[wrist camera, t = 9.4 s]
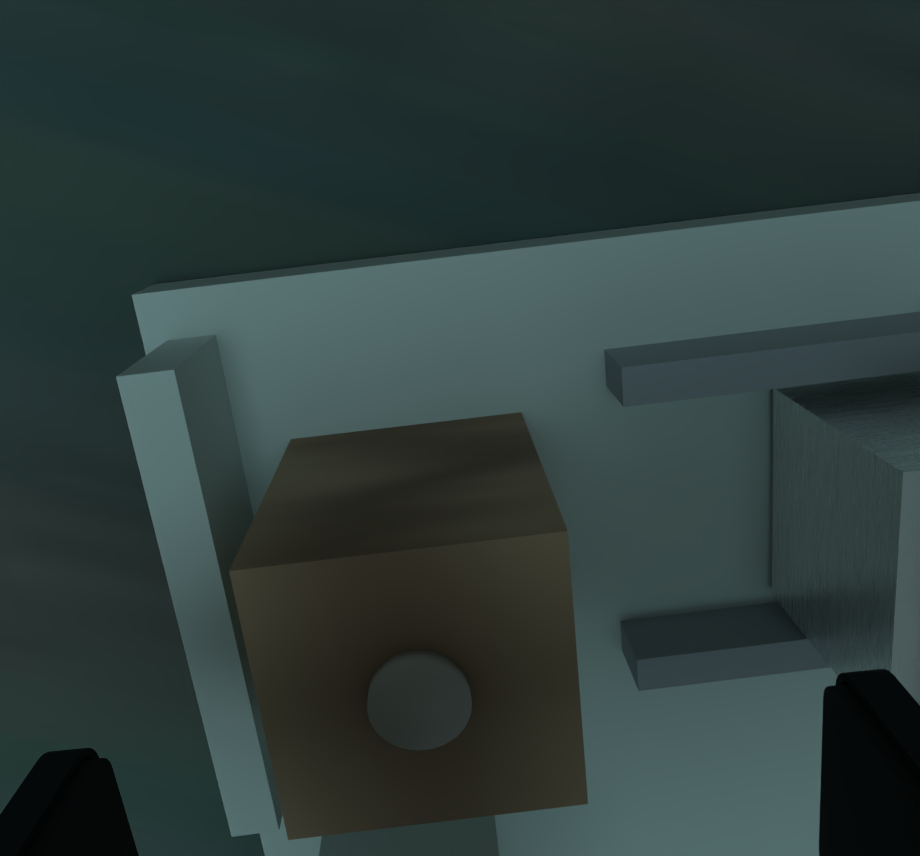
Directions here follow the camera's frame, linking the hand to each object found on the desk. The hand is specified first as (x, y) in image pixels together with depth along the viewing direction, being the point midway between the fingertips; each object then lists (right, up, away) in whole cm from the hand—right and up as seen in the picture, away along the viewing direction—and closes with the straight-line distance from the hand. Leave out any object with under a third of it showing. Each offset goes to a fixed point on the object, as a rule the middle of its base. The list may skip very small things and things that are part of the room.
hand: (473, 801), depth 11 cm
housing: (-1, +3, +8) cm, 8 cm away
